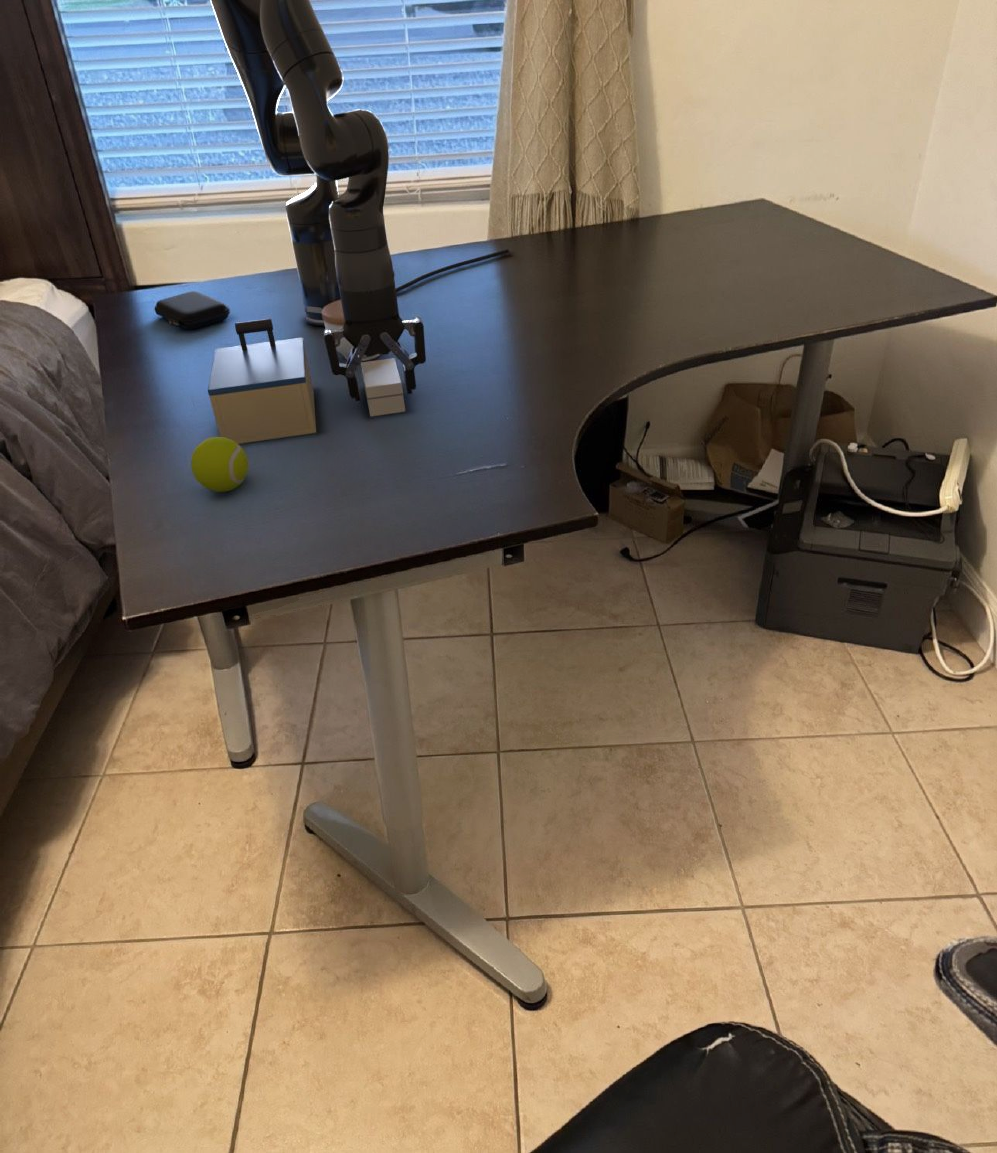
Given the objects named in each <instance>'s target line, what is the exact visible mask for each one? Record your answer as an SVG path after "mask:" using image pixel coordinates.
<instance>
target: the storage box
mask: <svg viewBox="0 0 997 1153" xmlns="http://www.w3.org/2000/svg"><path fill="white" fill-rule="evenodd" d="M304 353H305V373H306V382H305V383H298V384H290V385H283V386H276V387H268V388H261V389H254V390H246V391H239V392H232V393H224V394H217V395H209V394H208V396H209V401H210V404H211V408H212V411H213V416H214V418H215V422H216V426H217V429H218V433H219V437H225V438H228V439H231V440H233V441H235V442H236V443H237V444H238V445H240V444H249V443H254V442H261V441H268V440H269V441H270V440H276V439H282V438H288V437H289V438H290V437H297V436H302V435H310V434H316V433H317V424H316V423H317V421H316V409H315V408H316V407H315V394H314V393H315V392H314V387H313V382H312V376H311V371H310V367H309V362H308V356H307V351H306V347H305V345H304Z"/></svg>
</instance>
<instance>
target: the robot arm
mask: <svg viewBox="0 0 997 1153" xmlns="http://www.w3.org/2000/svg"><path fill="white" fill-rule="evenodd" d="M209 2H210V5H211V7H212V9H213V13H214V16H215V18H216V21H217V24H218V27H219V30H220V33H221V35H222V36H221V37H222V38H223V41H224V43H225V47H226V48H227V52H228V54H229V56H230V59H231V62H232V63H233V66H234V68H235V70H236V72H237V75H238V78H239V80H240V83H241V85H242V87H243V90H244V92H245V95H246V97H247V100H248V103H249V106H250V109H251V111H252V116H253V118H254V122H255V126H256V130H257V132H258V136H259V139H260V142H261V147H262V149H263V152H264V155H265V158H266V160H267V163H268V165H269V167H270V169H271V170H272V171H273V173H274V174H276V175H277V176H280V177H300V176H312V175H314V176H315V178H316V182H315V183H314V185H312V186H311V187H310V188H309V189H308V190H306V191H305V192H303V193H301V194H299V195H296V196H295V197H292V198H290V199H289V200H288V201H287V202H286V204H285V214H286V219H287V226H288V229H289V235H290V240H291V245H292V250H293V256H294V260H295V266H296V270H297V271H296V272H297V276H298V280H299V286H300V291H301V296H302V301H303V307H304V313H305V319H306V322H307V323H308V324H309V325H314V326H318V327H325V324H324V320H323V317H322V313H321V312H322V310H323V308H324V307H325V306H327V305H328V304H330V303H332V302H335V301H338V300H341V303H342V309H343V315H344V326H343V329H337V330H331V329H329V328H327V329H324V330H323V339H324V344H325V348H326V351H327V356H328V360H329V364H330V369H331V372H332V375H333V376H343V377H345V378H346V382H347V389H348V393H349V397H350V398H351V399H355V402H361V396H360V390H359V384H358V377H357V370H358V367H359V365H361V362H362V361H361V360H362V358H363V355H366V356H367V357H370V356H374V355H376V354H380V355H382V356H384V355H389V354H390V353H392V354H393V355H394V356H395V358H396V359H397V360H399V361H400V363H401V364H402V368H403V374H404V383H405V390H406V394H407V395H412V394H413V390H416V388H417V382H416V381H417V380H416V374H415V369H416V367H417V366H418V365H422V364H425V363H426V362H427V360H426V359H427V357H426V343H425V329H424V328H425V326H424V324H423V320H422V319H421V317H420V316H415V317H414V318H412V319H409V320H408V319H407V320H403V319H402V317H401V316H400V312H399V304H398V295H397V294H398V293H399V292H400V291H403V290H405V289H406V288H409V287H411V286H413V285H415V284H417V283H419V282H421V281H423V280H425V279H428V278H430V277H433V276H435V275H438V274H441V273H444V272H447V271H450V270H453V269H457V268H460V267H464V266H466V265H471V264H474V263H477V262H481V261H485V260H488V259H491V258H495V257H498V256H502V255H506V254H508V253H509V252H510V250H509V249H508V248H506V249H502V250H499V251H496V252H491V253H488V254H485V255H482V256H481V255H480V256H478V257H474V258H471V259H467V260H463V261H459V262H456V263H454V264H453V263H452V264H450V265H446V266H444V267H440V268H438V269H434V270H433V271H432V270H431V271H429V272H427V273H424V274H422V275H420V276H418V277H415V278H413V279H411V280H410V281H408V282H405V283H403V284H401V285H399V286H397V287H396V282H395V277H396V276H395V274H396V273H395V270H394V265H393V259H392V255H391V252H390V248H389V243H388V235H387V234H388V233H387V228H386V227H387V226H386V220H385V214H384V212H385V211H384V210H385V208H384V207H385V200H386V192H387V181H388V173H389V164H390V146H389V141H388V140H389V139H388V136H387V132H386V130H385V127H384V126H383V123H382V122H381V121H380V119H379V117H378V116H376V115H375V114H374V113H373V112H371V110H370V111H369V110H367V109H354V110H349V111H346V112H345V111H344V112H340V113H335V114H333V113H332V112H331V110H330V108H329V104H328V101H329V100H330V99H332V98H334V97H335V95H336V94H338V93H339V91H340V90H341V89H342V87H343V84H344V74H343V71H342V68H341V66H340V63H339V61H338V59H337V57H336V56H335V53H334V51H333V49H332V47H331V44H330V43H329V40H328V38H327V36H326V34H325V31H324V30H323V27H322V26H321V23H320V21H319V19H318V17H317V15H316V12H315V9H314V8H313V4H312V3H311V1H310V0H209ZM285 89H286V91H287V93H288V97H289V100H290V105H291V109H292V111H287V112H279V111H277V109H278V106H279V102H280V98H281V96H282V94H283V93H284V90H285ZM345 179H348V180H347V188H346V189H345V191H344V192H343V193H342V194H341V195H340V193H339V192H340V191H339V184H338V181H341V180H345ZM405 330H406V331H408V334H409V336H410V337H413V342H414V343H413V344H414V352H413V353H411V354H409V352H407V350H406V349H405V348H404V346H403V345H402V343H401V342H400V341H399V340H400V338H401V336H402V335H403V333H404V331H405ZM343 337H345V339H346V340H347V341H348V342H349V343H350V344H351V345H352V346H353V347H352V349H351V351H350V355H349V358H348V360H347V359H346V362H345V363H342V362H340V358H339V354H338V351H337V350H336V347H338V346H339V345H340V340H341V338H343Z"/></svg>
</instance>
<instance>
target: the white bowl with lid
mask: <svg viewBox="0 0 997 1153" xmlns="http://www.w3.org/2000/svg"><path fill="white" fill-rule="evenodd" d="M321 313H322V317H323V320H324V324H325V326H324V327H325V329H327V328H329V329H331V330H337V329H343V326H344V315H343V309H342V303H341V300H338V301H335V302H332V303H330V304H328V305H327V306H325V307H324V308H323V310H322V312H321ZM325 329H324V330H325ZM352 347H353V346H352V345H351V344H350V343H349V342H348V341H347V340H346V339H345V337H343V338H341V340H340V345H339V346H338V347H336V350H337V353H339V354H340V355H341V356H343V358H344V359H345V360H346V361H347V360H348V358H349V355H350V351H351V349H352ZM379 356H381V354H376V355H374V356H370V357H367V356H366V355H363V358H362V360H361V362H367V361H371V360H374V359H376V358H378V357H379Z"/></svg>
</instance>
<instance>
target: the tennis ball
mask: <svg viewBox="0 0 997 1153" xmlns="http://www.w3.org/2000/svg"><path fill="white" fill-rule="evenodd" d="M190 458H191V459H190V467H191V471H192V475H193V476H194V478H195V480H196V481H197V482H198V484H200V485H201V486H202V487H204V488H205V489H207V490H209V491H211V492H212V491H213V492H217V493H224V492H225V493H226V492H230V491H232V490H234V489H236V488H238V487H239V486H240V485H241V484H242V483H243V482H244V481H245V478H246V476H247V475H248V473H249V472H248V471H249V459H248V456H247V454H246V452H245V450H244V448H243V447H242V446H241V445H240V444H237V443H236V442H235V441H233V440H231V439H228V438H225V437H220V436H212V437H209V438H206V439H204V440H202V441H201V442H200V443H199V444H197V446H196V447H195V449H194V450H193V452H192V455H191V457H190Z"/></svg>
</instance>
